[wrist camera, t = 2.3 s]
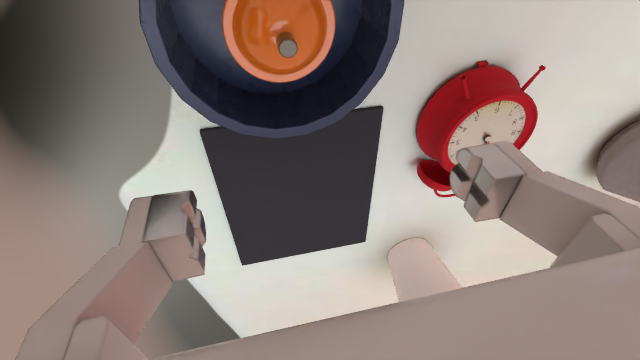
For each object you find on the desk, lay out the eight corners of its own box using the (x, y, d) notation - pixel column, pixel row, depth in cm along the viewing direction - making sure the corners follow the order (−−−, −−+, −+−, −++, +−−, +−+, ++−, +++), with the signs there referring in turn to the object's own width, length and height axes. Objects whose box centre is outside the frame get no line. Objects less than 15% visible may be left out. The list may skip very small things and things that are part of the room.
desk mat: (199, 129, 27) (199, 132, 27) (382, 105, 30) (383, 107, 29) (242, 262, 41) (242, 265, 41) (364, 239, 43) (365, 241, 43)
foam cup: (407, 273, 52) (447, 359, 43) (364, 265, 48) (398, 359, 38) (451, 237, 48) (506, 325, 39) (407, 224, 43) (458, 320, 34)
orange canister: (211, -49, 19) (207, -20, 14) (318, -55, 20) (352, -29, 15) (232, 58, 24) (236, 112, 18) (319, 49, 25) (346, 98, 19)
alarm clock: (569, 61, 26) (526, 212, 34) (514, 49, 32) (487, 182, 39) (449, 79, 25) (432, 232, 33) (413, 63, 30) (405, 198, 38)
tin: (112, -141, 16) (77, -146, 12) (383, -144, 18) (427, -149, 14) (192, 109, 26) (186, 151, 22) (363, 88, 28) (386, 123, 24)
